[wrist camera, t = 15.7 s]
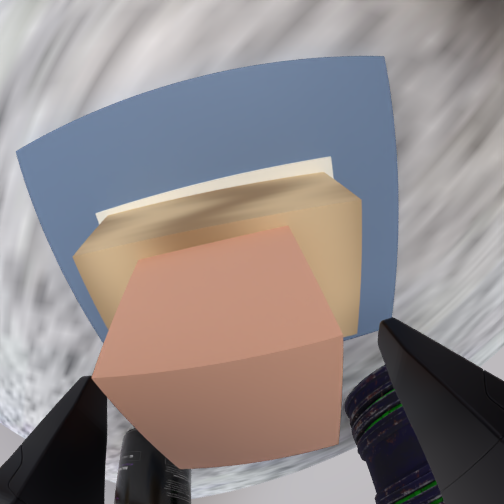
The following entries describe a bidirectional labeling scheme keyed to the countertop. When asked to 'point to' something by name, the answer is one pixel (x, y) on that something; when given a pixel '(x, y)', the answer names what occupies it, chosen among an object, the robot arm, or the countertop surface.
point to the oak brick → (233, 225)
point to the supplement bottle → (149, 475)
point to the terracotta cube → (226, 353)
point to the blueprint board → (227, 157)
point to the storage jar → (389, 443)
